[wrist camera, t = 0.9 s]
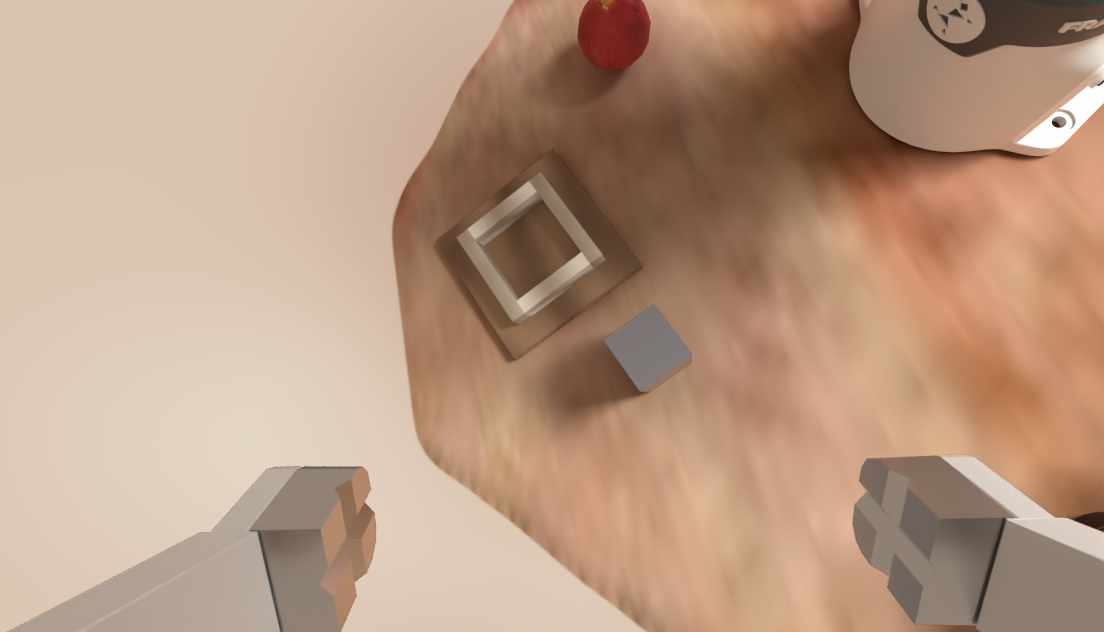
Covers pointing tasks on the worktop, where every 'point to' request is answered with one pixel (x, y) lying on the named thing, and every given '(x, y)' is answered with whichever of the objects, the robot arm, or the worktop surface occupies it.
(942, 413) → the worktop surface
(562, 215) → the socket board
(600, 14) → the onion
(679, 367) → the plug
